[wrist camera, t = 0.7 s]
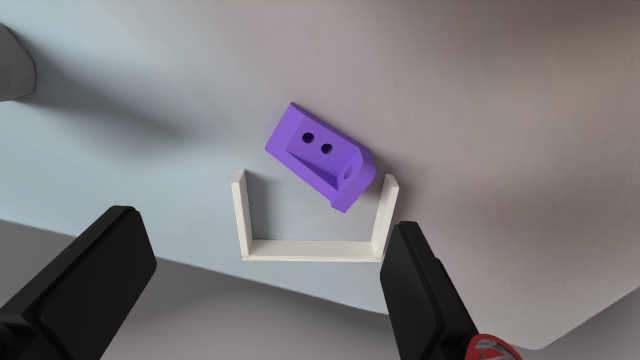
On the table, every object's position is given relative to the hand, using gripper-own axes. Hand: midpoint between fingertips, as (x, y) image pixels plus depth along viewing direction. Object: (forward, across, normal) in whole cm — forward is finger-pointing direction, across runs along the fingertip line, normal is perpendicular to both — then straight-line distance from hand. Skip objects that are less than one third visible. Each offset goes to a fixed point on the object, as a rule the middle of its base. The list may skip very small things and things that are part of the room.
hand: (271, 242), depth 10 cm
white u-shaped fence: (+25, -3, +18) cm, 31 cm away
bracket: (+26, -3, +7) cm, 27 cm away
